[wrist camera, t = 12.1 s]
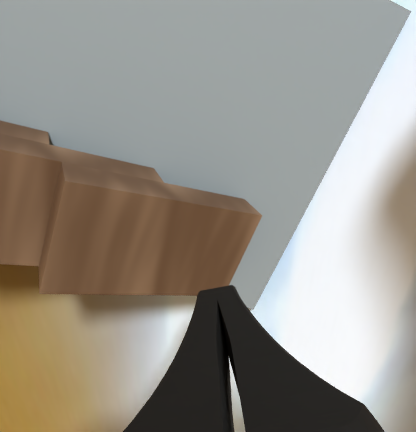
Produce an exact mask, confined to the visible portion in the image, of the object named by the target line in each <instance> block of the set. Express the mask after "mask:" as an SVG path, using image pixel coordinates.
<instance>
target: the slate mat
mask: <svg viewBox="0 0 416 432" xmlns="http://www.w3.org/2000/svg"><path fill="white" fill-rule="evenodd" d="M410 13H411V11H409V10H407V9H405V8H404V7H402V6H400V5H398V4H396V3H394V2H392V1H390V0H0V120H1V121H5V122H9V123H13V124H17V125H21V126H25V127H30V128H34V129H38V130H42V131H46V132H48V136H49V145H54V146H58V147H62V148H67V149H71V150H76V151H80V152H85V153H89V154H93V155H98V156H102V157H107V158H111V159H116V160H120V161H124V162H129V163H133V164H138V165H142V166H147V167H151V168H154V169H155V170H156V172H157V173H158V175H159V176H160V177H161V179H162V180H163V182H164V183H168V184H173V185H178V186H183V187H188V188H193V189H198V190H203V191H208V192H213V193H218V194H222V195H227V196H232V197H237V198H242V199H245V200H246V201H247V202H248V203H249V204H250V205H252V206H253V207H254V208H255V209H256V210H257V211H258V212H259V213H260V214H261V215H262V218H261V220H260V222H259V224H258V226H257V228H256V230H255V232H254V234H253V236H252V238H251V240H250V243H249V245H248V247H247V249H246V251H245V253H244V255H243V257H242V259H241V261H240V263H239V265H238V268H237V270H236V272H235V274H234V276H233V278H232V280H231V282H230V284H229V285H233V286H235V287H236V290H237V292H238V294H239V296H240V297H241V299H242V301H243V302H244V304H245V305H246V307H247V308H250V309H254V307H255V306H256V304H257V302H258V300H259V298H260V296H261V294H262V292H263V290H264V289H265V287H266V285H267V283H268V281H269V279H270V277H271V275H272V273H273V272H274V270H275V268H276V266H277V264H278V262H279V260H280V258H281V256H282V255H283V253H284V251H285V249H286V247H287V245H288V243H289V241H290V239H291V237H292V236H293V234H294V232H295V230H296V228H297V226H298V224H299V222H300V220H301V219H302V217H303V215H304V213H305V211H306V209H307V207H308V205H309V203H310V202H311V200H312V198H313V196H314V194H315V192H316V190H317V188H318V186H319V185H320V183H321V181H322V179H323V177H324V175H325V173H326V171H327V169H328V168H329V166H330V164H331V162H332V160H333V158H334V156H335V154H336V152H337V151H338V149H339V147H340V145H341V143H342V141H343V139H344V137H345V135H346V134H347V132H348V130H349V128H350V126H351V124H352V122H353V120H354V118H355V117H356V115H357V113H358V111H359V109H360V107H361V105H362V103H363V101H364V100H365V98H366V96H367V94H368V92H369V90H370V88H371V86H372V84H373V83H374V81H375V79H376V77H377V75H378V73H379V71H380V69H381V67H382V66H383V64H384V62H385V60H386V58H387V56H388V54H389V52H390V50H391V49H392V47H393V45H394V43H395V41H396V39H397V37H398V35H399V33H400V32H401V30H402V28H403V26H404V24H405V22H406V20H407V18H408V16H409V15H410Z"/></svg>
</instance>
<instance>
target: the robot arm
mask: <svg viewBox="0 0 416 432" xmlns="http://www.w3.org/2000/svg"><path fill="white" fill-rule="evenodd" d="M229 358H230V362H231V366H232V370H233V373H234V377H235V381H236V385H237V388H238V392H239V396H240V400H241V406H242V412H243V418H244V424H245V431H246V432H384V430H383V429H382V427H381V426H380V425H379V423H378V422H377V420H376V419H375V418H374V416H373V415H372V414H371V413H370V411H369V410H368V409H367V408H366V406H365V405H364V404H363V403H361V402H359V401H357V400H355V399H354V398H352V397H350V396H348V395H347V394H345V393H343V392H341V391H340V390H338V389H336V388H335V387H333V386H332V385H330V384H329V383H327V382H326V381H324V380H323V379H321V378H320V377H318V376H317V375H316V374H314V373H313V372H312V371H310V370H309V369H308V368H306V367H305V366H304V365H302V364H301V363H300V362H299V361H297V360H296V359H295V358H294V357H293V356H291V355H290V354H289V353H288V352H287V351H286V350H285V349H284V348H283V347H281V346H280V345H279V344H278V343H277V342H276V341H275V340H274V339H273V338H272V337H271V336H270V335H269V333H268V332H267V331H266V330H265V329H264V328H263V327H262V326H261V325H260V323H259V322H258V321H257V320H256V318H255V317H254V316H253V315H252V313H251V312H250V311H249V309H248V308H247V307H246V305H245V304H244V302H243V301H242V299H241V297H240V296H239V294H238V292H237V290H236V287H235V286H233V285H229V286H223V287H218V288H213V289H207V290H202V291H200V292H199V293H198V295H197V301H196V305H195V308H194V312H193V315H192V318H191V321H190V323H189V326H188V329H187V332H186V334H185V336H184V339H183V341H182V343H181V345H180V347H179V350H178V352H177V354H176V356H175V358H174V360H173V362H172V363H171V365H170V367H169V369H168V370H167V372H166V374H165V376H164V377H163V379H162V380H161V382H160V383H159V385H158V387H157V388H156V390H155V391H154V393H153V394H152V395H151V397H150V398H149V400H148V401H147V402H146V404H145V405H144V406H143V407H142V409H141V410H140V411H139V413H138V414H137V415H136V417H135V418H134V419H133V420H132V422H131V423H130V424H129V425H128V426H127V428H126V429H125V430H124V431H123V432H234V425H233V415H232V401H231V385H230V369H229Z"/></svg>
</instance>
